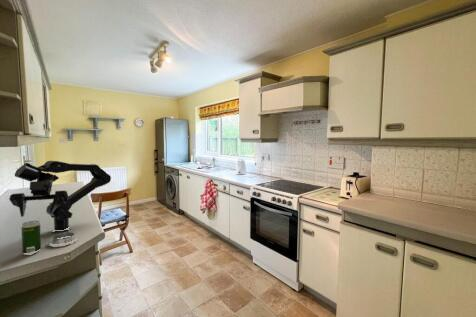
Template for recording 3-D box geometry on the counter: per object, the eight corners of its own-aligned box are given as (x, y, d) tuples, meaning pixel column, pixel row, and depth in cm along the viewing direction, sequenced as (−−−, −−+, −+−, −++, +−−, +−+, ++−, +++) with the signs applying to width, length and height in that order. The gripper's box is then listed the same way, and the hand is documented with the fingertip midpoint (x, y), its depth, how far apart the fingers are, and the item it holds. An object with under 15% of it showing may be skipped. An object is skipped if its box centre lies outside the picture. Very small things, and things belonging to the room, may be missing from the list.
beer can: (41, 252, 86) (41, 222, 85) (22, 257, 82) (21, 226, 81) (40, 248, 90) (39, 219, 89) (21, 252, 86) (20, 222, 85)
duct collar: (52, 240, 97) (52, 233, 97) (79, 236, 102) (79, 229, 102) (45, 249, 89) (45, 242, 88) (76, 244, 93) (76, 237, 93)
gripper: (10, 174, 91) (-2, 207, 82) (66, 173, 100) (61, 202, 91) (18, 190, 98) (8, 221, 89) (70, 187, 107) (65, 215, 98)
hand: (36, 214), depth 92 cm, fingers open, 9 cm apart
